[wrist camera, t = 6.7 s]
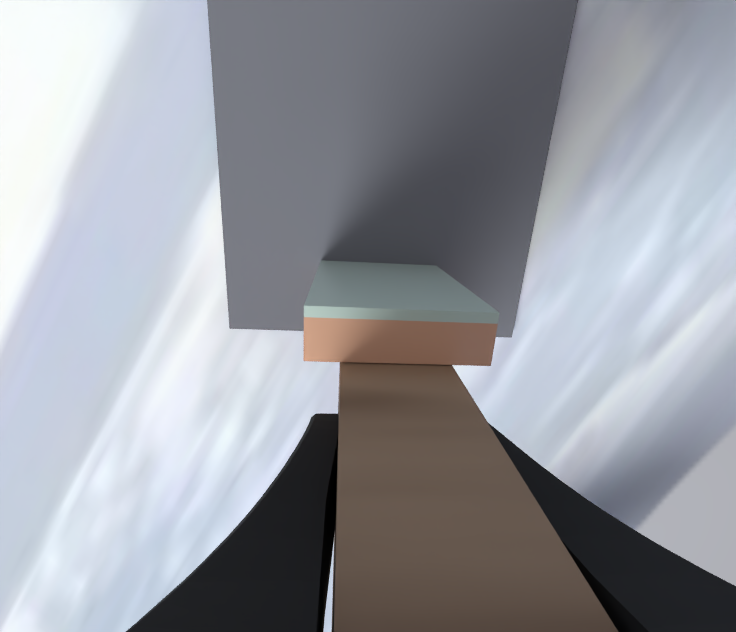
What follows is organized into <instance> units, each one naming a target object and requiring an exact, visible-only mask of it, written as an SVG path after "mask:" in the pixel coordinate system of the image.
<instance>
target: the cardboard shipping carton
mask: <svg viewBox="0 0 736 632" xmlns="http://www.w3.org/2000/svg"><path fill="white" fill-rule="evenodd" d="M338 414H339V424H338V456H337V484H336V513H335V533H334V566H333V601H332V632H618V630H617V629H616V627H615V626H614V624H613V622H612V621H611V619H610V618H609V616H608V614H607V613H606V611H605V610H604V608H603V606H602V605H601V603H600V602H599V600H598V598H597V597H596V595H595V594H594V592H593V590H592V589H591V587H590V586H589V584H588V582H587V581H586V579H585V578H584V576H583V574H582V573H581V571H580V570H579V568H578V566H577V565H576V563H575V562H574V560H573V558H572V557H571V555H570V554H569V552H568V550H567V549H566V547H565V546H564V544H563V542H562V541H561V539H560V538H559V536H558V534H557V533H556V531H555V530H554V528H553V526H552V525H551V523H550V522H549V520H548V518H547V517H546V515H545V514H544V512H543V510H542V509H541V507H540V506H539V504H538V502H537V501H536V499H535V498H534V496H533V494H532V493H531V491H530V490H529V488H528V486H527V485H526V483H525V482H524V480H523V478H522V477H521V475H520V474H519V472H518V470H517V469H516V467H515V466H514V464H513V462H512V461H511V459H510V458H509V456H508V454H507V453H506V451H505V450H504V448H503V446H502V445H501V443H500V442H499V440H498V438H497V437H496V435H495V434H494V432H493V430H492V429H491V427H490V426H489V424H488V422H487V421H486V419H485V418H484V416H483V414H482V413H481V411H480V410H479V408H478V406H477V405H476V403H475V402H474V400H473V398H472V397H471V395H470V394H469V392H468V390H467V389H466V387H465V386H464V384H463V382H462V381H461V379H460V378H459V376H458V374H457V373H456V371H455V370H454V368H453V366H452V365H437V364H398V363H359V362H340V373H339V402H338Z"/></svg>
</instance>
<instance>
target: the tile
mask: <svg viewBox="0 0 736 632" xmlns="http://www.w3.org/2000/svg"><path fill="white" fill-rule="evenodd" d="M499 314H500V313H499V312H498V311H497V310H495V309H494V308H493V307H491V306H490V305H489V304H487V303H486V302H485V301H483V300H482V299H481V298H479V297H478V296H477V295H475V294H474V293H472V292H471V291H470V290H468V289H467V288H466V287H464V286H463V285H462V284H460V283H459V282H458V281H456V280H455V279H454V278H452V277H451V276H450V275H448V274H447V273H446V272H444V271H443V270H442V269H440V268H439V267H438V266H435V265H413V264H391V263H369V262H347V261H325V260H321V261H320V264H319V267H318V269H317V272H316V275H315V277H314V280H313V283H312V285H311V288H310V291H309V293H308V296H307V299H306V301H305V304H304V361H320V362H359V363H398V364H437V365H477V366H491V361H492V355H493V349H494V343H495V337H496V331H497V326H498V320H499Z"/></svg>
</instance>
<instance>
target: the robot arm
mask: <svg viewBox="0 0 736 632" xmlns="http://www.w3.org/2000/svg"><path fill="white" fill-rule="evenodd" d="M338 424H339V414H315V415H314V416H313V417H311V420H310V422H309V425H308V427H307V429H306V431H305V433H304V435H303V436H302V438H301V440H300V442H299V443H298V445H297V447H296V449H295V450H294V452H293V453H292V455H291V456H290V458H289V459H288V461H287V462H286V464H285V466H284V467H283V469H282V470H281V471H280V473H279V474H278V476H277V477H276V478H275V480H274V481H273V482H272V484H271V485H270V486H269V488H268V489H267V490H266V492H265V493H264V494H263V496H262V497H261V498H260V500H259V501H258V502H257V503H256V505H255V506H254V507H253V508H252V509H251V511H250V512H249V513H248V514H247V515H246V517H245V518H244V519H243V520H242V521H241V522H240V523H239V524H238V526H237V527H236V528H235V529H234V530H233V531H232V532H231V533H230V535H229V536H228V537H227V538H226V539H225V540H224V541H223V542H222V543H221V544H220V545H219V546H218V547H217V548H216V549H215V550H214V551H213V552H212V553H211V554H210V555H209V556H208V557H207V558H206V559H205V560H204V561H203V562H202V563H201V564H200V565H199V566H198V567H197V568H196V569H195V570H194V571H193V572H192V573H191V574H190V575H189V576H188V577H187V578H186V579H185V580H184V581H183V582H182V583H180V584H179V585H178V586H177V587H176V588H175V589H174V590H173V591H171V592H170V593H169V594H168V595H167V596H166V597H165V598H164V599H163V600H161V601H160V602H159V603H158V604H157V605H156V606H155V607H154V608H152V609H151V610H150V611H149V612H148V613H147V614H146V615H145V616H143V617H142V618H141V619H140V620H139V621H138V622H137V623H136V624H134V625H133V626H132V627H131V628H130V629H128V630H127V631H126V632H323V628H324V616H325V608H326V600H327V591H328V583H329V575H330V566H331V558H332V550H333V541H334V533H335V513H336V484H337V456H338ZM488 424H489V423H488ZM489 426H490V427H491V429H492V430H493V432H494V434H495V435H496V437H497V438H498V440H499V442H500V443H501V445H502V446H503V448H504V450H505V451H506V453H507V454H508V456H509V458H510V459H511V461H512V462H513V464H514V466H515V467H516V469H517V470H518V472H519V474H520V475H521V477H522V478H523V480H524V482H525V483H526V485H527V486H528V488H529V490H530V491H531V493H532V494H533V496H534V498H535V499H536V501H537V502H538V504H539V506H540V507H541V509H542V510H543V512H544V514H545V515H546V517H547V518H548V520H549V522H550V523H551V525H552V526H553V528H554V530H555V531H556V533H557V534H558V536H559V538H560V539H561V541H562V542H563V544H564V546H565V547H566V549H567V550H568V552H569V554H570V555H571V557H572V558H573V560H574V562H575V563H576V565H577V566H578V568H579V570H580V571H581V573H582V574H583V576H584V578H585V579H586V581H587V582H588V584H589V586H590V587H591V589H592V590H593V592H594V594H595V595H596V597H597V598H598V600H599V602H600V603H601V605H602V606H603V608H604V610H605V611H606V613H607V614H608V616H609V618H610V619H611V621H612V622H613V624H614V626H615V627H616V629H617V630H618V632H736V586H734V585H732V584H730V583H728V582H726V581H724V580H723V579H721V578H719V577H717V576H715V575H713V574H711V573H709V572H707V571H705V570H703V569H702V568H700V567H698V566H696V565H694V564H693V563H691V562H689V561H687V560H685V559H683V558H682V557H680V556H678V555H676V554H674V553H673V552H671V551H669V550H667V549H665V548H664V547H662V546H660V545H658V544H657V543H655V542H653V541H651V540H650V539H648V538H647V537H645V536H643V535H641V534H640V533H638V532H637V531H635V530H633V529H632V528H630V527H629V526H627V525H625V524H624V523H622V522H621V521H619V520H618V519H616V518H614V517H613V516H611V515H610V514H608V513H606V512H605V511H603V510H602V509H600V508H599V507H597V506H596V505H594V504H593V503H591V502H590V501H588V500H587V499H586V498H584V497H583V496H581V495H580V494H579V493H577V492H576V491H574V490H573V489H572V488H570V487H569V486H567V485H566V484H565V483H563V482H562V481H560V480H559V479H558V478H556V477H555V476H554V475H553V474H551V473H550V472H549V471H547V470H546V469H545V468H543V467H542V466H541V465H539V464H538V463H537V462H536V461H534V460H533V459H532V458H531V457H529V456H528V455H527V454H526V453H524V452H523V451H522V450H521V449H519V448H518V447H517V446H516V445H515V444H513V443H512V442H511V441H510V440H508V439H507V438H506V437H505V436H504V435H502V434H501V433H500V432H499V431H497V430H496V429H495V428H494V427H493V426H491V425H490V424H489Z"/></svg>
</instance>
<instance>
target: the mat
mask: <svg viewBox="0 0 736 632" xmlns="http://www.w3.org/2000/svg"><path fill="white" fill-rule="evenodd" d="M577 2H578V0H207V4H208V19H209V33H210V48H211V63H212V77H213V92H214V107H215V121H216V136H217V151H218V165H219V180H220V195H221V210H222V224H223V239H224V254H225V268H226V283H227V298H228V312H229V327H230V329H262V330H294V331H304V304H305V301H306V299H307V296H308V293H309V291H310V288H311V285H312V283H313V280H314V277H315V275H316V272H317V269H318V267H319V264H320V261H321V260H325V261H347V262H369V263H391V264H413V265H435V266H438V267H439V268H440V269H442V270H443V271H444V272H446V273H447V274H448V275H450V276H451V277H452V278H454V279H455V280H456V281H458V282H459V283H460V284H462V285H463V286H464V287H466V288H467V289H468V290H470V291H471V292H472V293H474V294H475V295H477V296H478V297H479V298H481V299H482V300H483V301H485V302H486V303H487V304H489V305H490V306H491V307H493V308H494V309H495V310H497V311H498V312H499V313H500V314H499V320H498V326H497V331H496V337H512V333H513V328H514V323H515V318H516V313H517V308H518V303H519V298H520V292H521V287H522V282H523V277H524V272H525V267H526V262H527V257H528V252H529V247H530V242H531V236H532V231H533V226H534V221H535V216H536V211H537V206H538V201H539V196H540V191H541V185H542V180H543V175H544V170H545V165H546V160H547V155H548V150H549V145H550V140H551V135H552V129H553V124H554V119H555V114H556V109H557V104H558V99H559V94H560V89H561V84H562V79H563V73H564V68H565V63H566V58H567V53H568V48H569V43H570V38H571V33H572V28H573V22H574V17H575V12H576V7H577Z"/></svg>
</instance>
